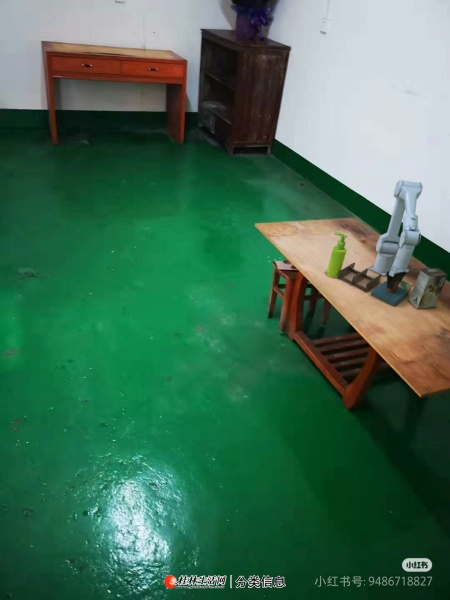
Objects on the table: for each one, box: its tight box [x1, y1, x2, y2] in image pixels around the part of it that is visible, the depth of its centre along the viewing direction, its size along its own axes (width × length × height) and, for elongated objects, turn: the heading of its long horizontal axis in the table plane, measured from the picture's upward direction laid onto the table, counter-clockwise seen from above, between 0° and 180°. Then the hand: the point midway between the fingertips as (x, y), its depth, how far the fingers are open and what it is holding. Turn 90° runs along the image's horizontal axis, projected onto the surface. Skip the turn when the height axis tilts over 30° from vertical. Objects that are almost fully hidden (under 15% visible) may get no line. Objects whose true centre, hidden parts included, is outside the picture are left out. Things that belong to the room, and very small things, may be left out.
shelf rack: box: [337, 262, 383, 293], centre depth 207 cm, size 13×14×4 cm
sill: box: [370, 278, 413, 307], centre depth 198 cm, size 14×11×6 cm
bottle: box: [387, 280, 400, 293], centre depth 197 cm, size 4×4×7 cm
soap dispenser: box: [326, 231, 348, 279], centre depth 205 cm, size 6×7×20 cm
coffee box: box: [408, 267, 449, 309], centre depth 192 cm, size 9×6×16 cm
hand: (393, 285), depth 197 cm, fingers open, 7 cm apart
